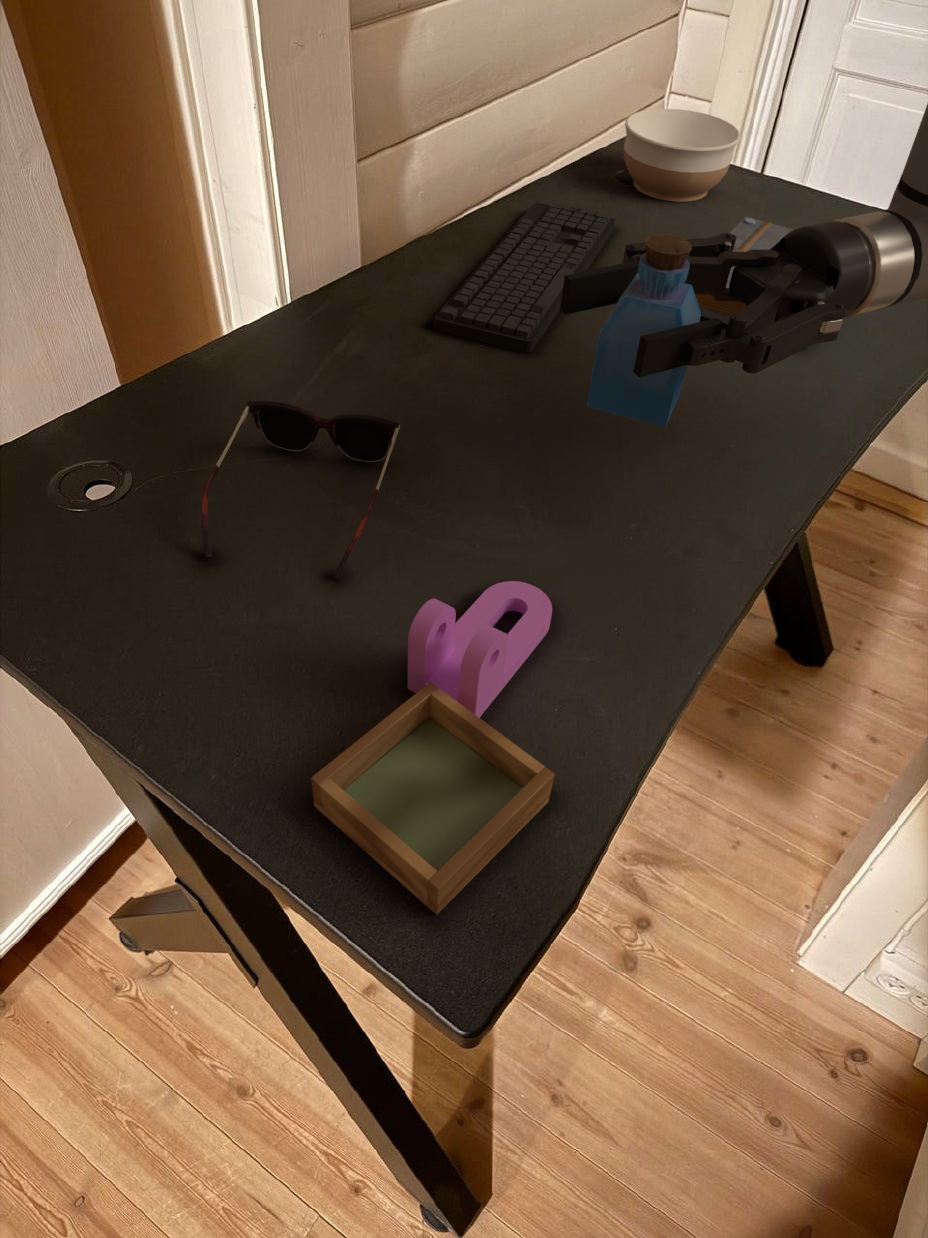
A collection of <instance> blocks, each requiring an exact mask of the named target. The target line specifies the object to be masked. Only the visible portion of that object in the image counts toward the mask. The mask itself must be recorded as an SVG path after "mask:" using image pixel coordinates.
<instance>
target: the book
mask: <svg viewBox="0 0 928 1238" xmlns="http://www.w3.org/2000/svg"><path fill="white" fill-rule="evenodd" d="M792 230H794V228H793V229H792V228H789V227H786V226H783V225H778V224H775V223H772V222H771V221H764V220H760V219H757V218H753V217H750V216H745V217H743V219H741V220H740V222H738V224H736V225H735V226H734V227H733V228H732V230H730V231H729V233H731V234H733V235H735V236H736V237H737V238H736V242H735V245H734V246H735V247H736V248H738V249H740V250H742V251H744V252H746V251H748V250H753V249H757V250H759V249H762V250H769V249H771V248H772V247H773V246H775V245H776V244H777V243H778V242H779V241H780V240H781V239H782V238H783V237H784V236H785V235H786V234H788V233H789V232H791V231H792ZM734 268H735V267H734V266H732V268H731V270H730V273H729V277H728V281H727V284H726V288H729V283H730V279H731V276H732V272H733V269H734ZM695 296H696V299H697V302H698V305H699V308H700V311H701V317H703V318H707V319H709V320H710V319H714V318H718V319H719V320H721V321H722V322H723V323H724V324H726V325H728V321H729V317H730V315H731V314H732V317H733V318H734V315H736V316H737V315H739V314H740V313H741V312H742V311H743V310H744V309H745V308H746V307H747V306H746V305H745V304H744V303H742V302H738V301H717V300H715V298H714V296H713V295H711V294H695ZM806 349H807V348H805V349H804V350H806Z"/></svg>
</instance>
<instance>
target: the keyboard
mask: <svg viewBox="0 0 928 1238" xmlns="http://www.w3.org/2000/svg"><path fill="white" fill-rule="evenodd" d="M615 222H616V220H615V219H614V218H612V217H611V214H609V213H604V212H600V211H595V210H588V209H585V208H581V207H576V206H571V205H564V204H562V203H558V202H557V203H556V202H554V203H553V204H552V205H549V204H545V203H540V202H534V203H533V204H532V205H530V207H529V208H528V209H527V210H526V211H525V213H524V214H523V215H522V216H521V217H520V218H519V220H517V222H516V223H515V224H514V225H513V226H512V227H511V228H510V230H509V231H508V232H507V233H506V235H504V237H503V238H502V239H501V240H500V241H499V242H498V243H497V244H496V246H495V247H494V248H493V249H492V250H491V251H490V252H489V253H488V255H487V256H486V257H485V258H484V259H483V260H482V261H481V262H480V264H479V265H478V266H477V267H476V268H475V270H474V271H473V272H472V273H471V274H470V276H469V277H467V279H465V281H464V282H463V283H462V284H461V285H460V287H458V289H457V291H456V292H454V294H453V295H452V296H451V297H450V298H449V299H448V301H447V302H446V303H445V304H444V305H443V306H442V307H441V309H439V310H438V312H437V313H436V314H435V315H434V331H436V332H440V333H443V334H448V335H452V336H456V337H461V338H464V339H468V340H472V341H476V342H480V343H484V344H488V345H493V346H495V347H500V348H505V349H509V350H513V351H515V352H516V351H517V352H520V353H525V354H530V353H532V352H533V351H534V349H535V348H536V346H537V345H538V343H539V342H540V340H541V339H542V338H543V335H544V334H545V333H546V331H547V330H548V328H549V327H550V325H552V323H553V321H554V319H555V318H556V317H557V316H558V314H559V312H561V311H560V306H561V299H562V291H563V284H564V277H565V275H569V274H574V273H579V272H584V271H588V269H589V268H590V266H591V265H592V263H593V262H594V261H595V259H596V257H597V256H598V254H599V253H600V252H601V250H602V249H603V247H604V246H605V245H606V242H607V241H608V239H609V238H610V237H611V236H612V233H613V232H614V228H615Z"/></svg>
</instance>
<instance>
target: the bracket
mask: <svg viewBox="0 0 928 1238" xmlns="http://www.w3.org/2000/svg"><path fill="white" fill-rule="evenodd" d="M508 612H517V613H519V614H521V615H522V616H521V618H520V619H519V620H518V621H517V622H516V623H515V625H514V626H512V628H511V629H510V631H508V633H506V632H504V631H502V630H499V629H498V628H495V627H494V626H495V625H496V624H497V623H498V622H499V621H500V619H501V618H502V617H503V616H504V615H505V614H507V613H508ZM456 617H457V614H456V609H455V608H454V607H453V606H451V605H449V604H448V603H445V602H443V601H441V600H439V599H437V598H430V599H428V600H427V601H426V602H425V603H424V604H423V605H422V606H421V607H420V608H419V610H418V611H417V613H416V615H415V616H414V619H413V620H412V622H411V625H410V628H409V630H408V637H407V690H410V691H411V692H413V693H414V694H416V693H417V692H418V691H420V690H421V689H422V688H423V687H425V686H426V685H427V684H428V683H429V682H431V683H433V684H434V685H435V686H437V687H438V688H439V689H441V690H442V691H444V692H445V693H446V694H448V695H449V696H450V697H452V698H453V699H454V700H456V701H457V702H458V703H460V704H461V705H462V706H464V707H465V708H466V709H468V710H469V711H471V712H472V713H473V714H475V715H476V716H477V717H479V718H480V719H481V717H482V716H483V714H484V713H485V711H486V710H487V709H488V708H489V707H490V706H491V704H492V703H493V702H494V700H495V699H496V698H497V697H498V695H499V694H500V693H501V692H502V690H503V689H504V688H505V686H507V684H508V683H509V681H510V680H511V679H512V678H513V677H514V676H515V674H516V673H517V672H518V670H519V669H520V668H521V666H523V664H524V663H525V662H526V660H527V659H528V658H529V657H530V656H531V654H532V653H533V652H534V651H535V649H536V648H537V647H538V646H539V644H540V643H541V641H542V640H543V639H544V638H545V637H546V635H547V634H548V632H549V630H550V627H551V622H552V617H553V605H552V601H551V600H550V598H549V596H548V595H547V594H546V593H545V592H544V591H543V590H541V589H540V588H539V587H537V586H535V585H533V584H530V583H527V582H523V581H516V580H510V581H509V580H508V581H502V582H497V583H495V584H493V585H491V586H489V587H488V588H487V589H485V590H484V591H483V592H482V593H481V595H480V596H478V598H476V600H475V601H474V602H473V603H472V604H471V606H470V607H468V609H467V610H466V611H465V612H464V613H463V614H462V615H461V616H460V618H458V620H456V619H457V618H456Z"/></svg>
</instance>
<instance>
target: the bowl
mask: <svg viewBox="0 0 928 1238" xmlns="http://www.w3.org/2000/svg"><path fill="white" fill-rule="evenodd" d="M624 126H625V132H626V133H625V134H626V135H625V140H624V143H623V160H624V163H625V167H626V170H627V172H628V173H629V175H630V177H631V178H632V180H633V186H634V188H635V189H636V190H637V191H639V192H640V193H642V194H643V195H646V196H648V197H651V198H653V199H657V200H662V201H667V202H668V201H669V202H679V203H682V202H693V201H698V200H701V199H703V198H705V197H706V196H707V194H708V193H709V190H711V189H712V188H714V187H715V186H716V185H718V184H719V183H720V182H721V180H723V178H724V177H725V176H726V174H727V173H728V171H729V168H730V165H731V163H732V161H733V158H734V153H735V148H736V146H737V145H738V143H739V142H740V140H741V133H740V131H739V129H738V128H737V127H736V126H735V125H733V124H732V123H730V122H729V121H727V120H725V119H722V118H720V117H717V116H715V115H712V114H707V113H704V112H699V111H693V110H689V109H680V108H654V109H652V108H651V109H645V110H640V111H637V112H635V113H632V114H630V115H629V116H628V117H627V118H626V120H625V122H624Z"/></svg>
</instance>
